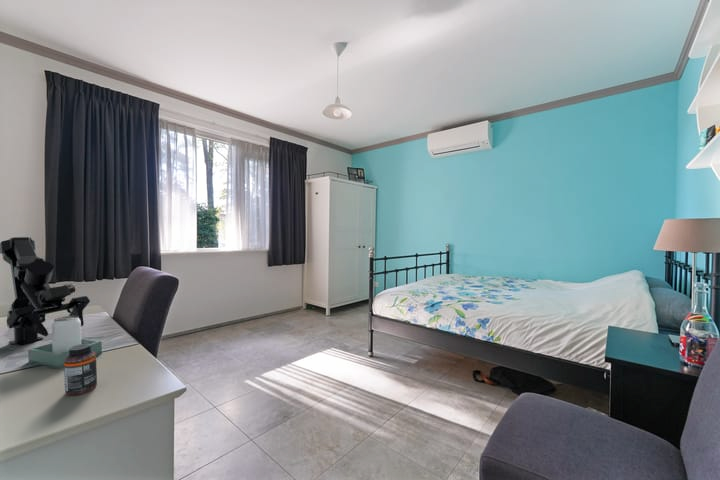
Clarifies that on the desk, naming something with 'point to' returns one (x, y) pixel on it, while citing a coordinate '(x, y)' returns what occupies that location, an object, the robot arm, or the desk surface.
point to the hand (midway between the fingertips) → (65, 330)
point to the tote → (53, 360)
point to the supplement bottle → (80, 370)
